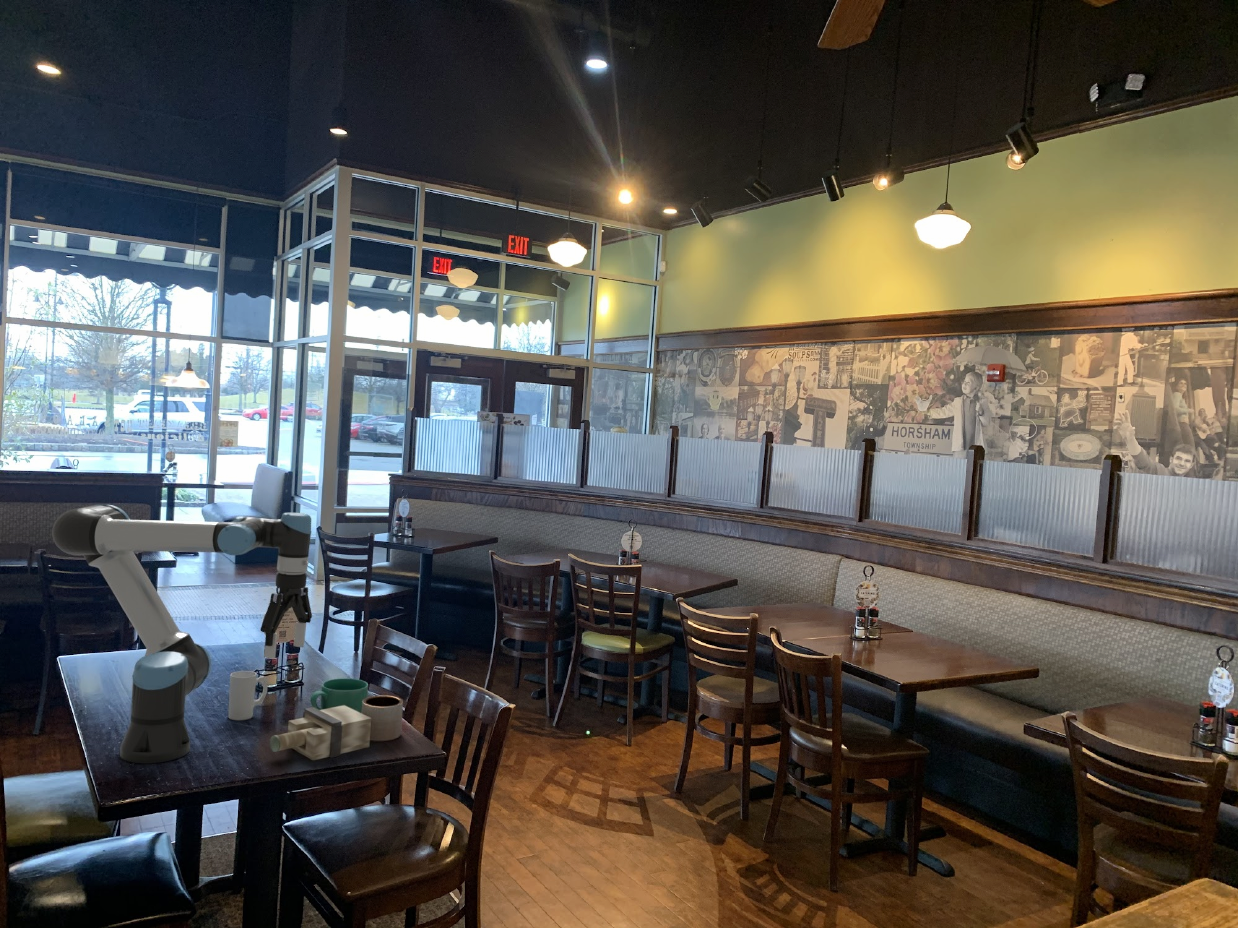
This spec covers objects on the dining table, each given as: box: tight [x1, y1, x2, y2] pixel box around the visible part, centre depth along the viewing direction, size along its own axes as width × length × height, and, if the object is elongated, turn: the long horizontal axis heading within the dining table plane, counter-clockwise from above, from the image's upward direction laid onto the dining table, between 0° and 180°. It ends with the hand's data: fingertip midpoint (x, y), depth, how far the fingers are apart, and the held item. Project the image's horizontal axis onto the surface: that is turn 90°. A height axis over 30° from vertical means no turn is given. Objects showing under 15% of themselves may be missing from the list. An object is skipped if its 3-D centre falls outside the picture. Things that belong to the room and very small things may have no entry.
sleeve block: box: [287, 705, 371, 761], centre depth 226 cm, size 16×15×9 cm
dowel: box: [269, 726, 323, 753], centre depth 220 cm, size 14×4×4 cm, turn 139°
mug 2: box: [310, 677, 369, 713], centre depth 248 cm, size 17×13×10 cm
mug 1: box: [227, 670, 268, 721], centre depth 243 cm, size 10×7×12 cm, turn 127°
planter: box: [362, 694, 404, 743], centre depth 236 cm, size 11×11×10 cm
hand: (284, 652), depth 228 cm, fingers open, 13 cm apart
